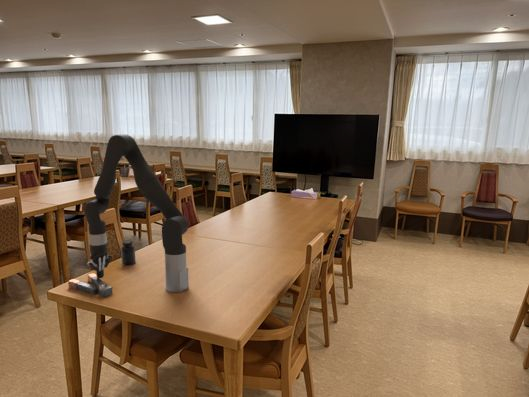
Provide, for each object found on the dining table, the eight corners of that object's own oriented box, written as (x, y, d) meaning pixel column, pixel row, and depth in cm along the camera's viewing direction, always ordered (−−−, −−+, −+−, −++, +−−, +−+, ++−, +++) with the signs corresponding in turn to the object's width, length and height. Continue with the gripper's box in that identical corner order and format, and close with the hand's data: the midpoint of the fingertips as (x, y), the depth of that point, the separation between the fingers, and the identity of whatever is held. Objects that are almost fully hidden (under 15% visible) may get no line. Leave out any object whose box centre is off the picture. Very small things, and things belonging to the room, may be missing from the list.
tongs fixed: (112, 293, 161) (112, 284, 161) (102, 298, 157) (101, 289, 156) (79, 283, 171) (78, 275, 170) (68, 287, 166) (68, 279, 165)
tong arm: (107, 290, 164) (106, 283, 164) (101, 292, 162) (100, 285, 162) (93, 279, 175) (93, 272, 175) (88, 280, 174) (87, 274, 173)
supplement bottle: (131, 259, 202) (130, 238, 199) (138, 262, 197) (137, 241, 195) (119, 263, 196) (118, 241, 194) (126, 266, 192) (125, 244, 190)
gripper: (91, 247, 163) (93, 284, 167) (115, 239, 175) (117, 274, 178) (79, 244, 167) (82, 280, 170) (104, 237, 178) (106, 271, 182)
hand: (100, 277), depth 174 cm, fingers closed
